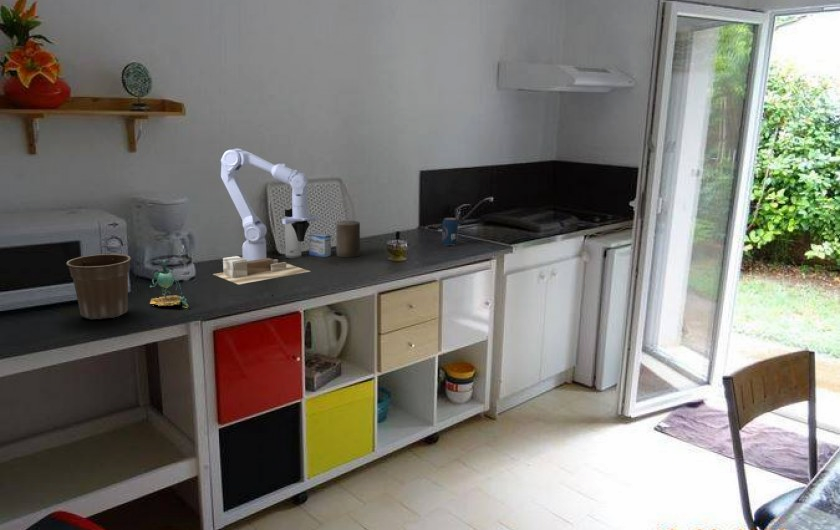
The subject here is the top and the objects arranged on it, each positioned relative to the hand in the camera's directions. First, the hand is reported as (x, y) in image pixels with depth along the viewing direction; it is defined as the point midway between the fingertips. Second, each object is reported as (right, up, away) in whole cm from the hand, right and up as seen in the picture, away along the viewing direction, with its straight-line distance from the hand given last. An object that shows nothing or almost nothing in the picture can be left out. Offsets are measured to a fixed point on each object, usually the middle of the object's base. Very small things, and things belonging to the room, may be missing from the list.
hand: (300, 241), depth 252 cm
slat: (-15, -12, -15) cm, 24 cm away
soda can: (+59, 0, +47) cm, 75 cm away
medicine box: (+4, -5, +20) cm, 21 cm away
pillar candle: (+16, -5, +21) cm, 27 cm away
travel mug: (-6, -6, +16) cm, 18 cm away
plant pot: (-45, -23, -62) cm, 80 cm away
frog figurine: (-31, -21, -51) cm, 63 cm away
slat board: (-11, -13, -14) cm, 22 cm away
